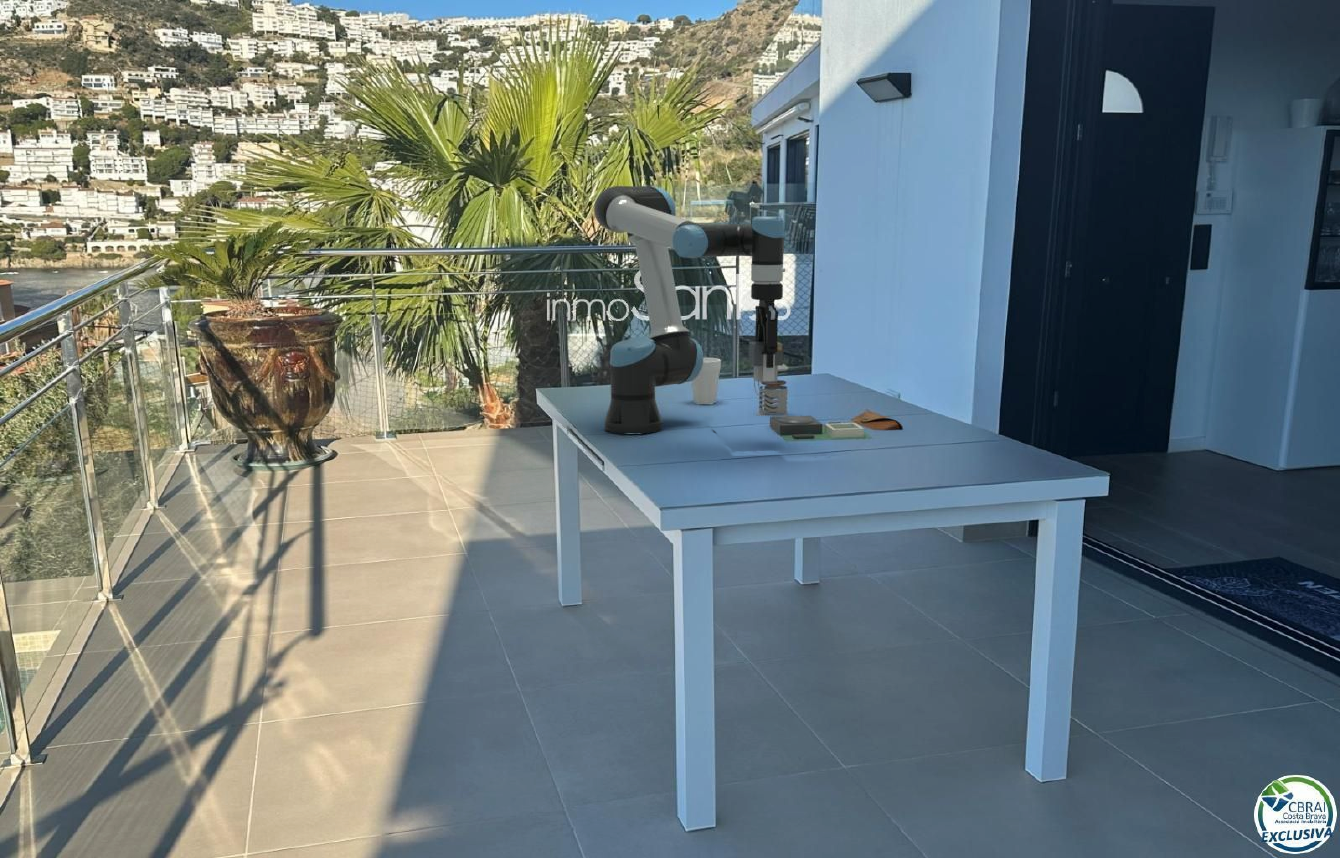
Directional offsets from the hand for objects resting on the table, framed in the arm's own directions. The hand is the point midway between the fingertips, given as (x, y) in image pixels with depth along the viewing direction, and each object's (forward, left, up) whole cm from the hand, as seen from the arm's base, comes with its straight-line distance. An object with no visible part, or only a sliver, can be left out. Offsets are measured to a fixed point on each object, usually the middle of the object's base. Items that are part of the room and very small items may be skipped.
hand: (765, 378), depth 249 cm
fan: (+11, +10, -15) cm, 21 cm away
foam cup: (-5, +58, -17) cm, 60 cm away
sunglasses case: (+32, +15, -17) cm, 40 cm away
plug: (0, 0, 0) cm, 0 cm away
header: (+21, +3, -15) cm, 26 cm away
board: (+16, +7, -17) cm, 24 cm away
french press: (+10, +36, -17) cm, 41 cm away
